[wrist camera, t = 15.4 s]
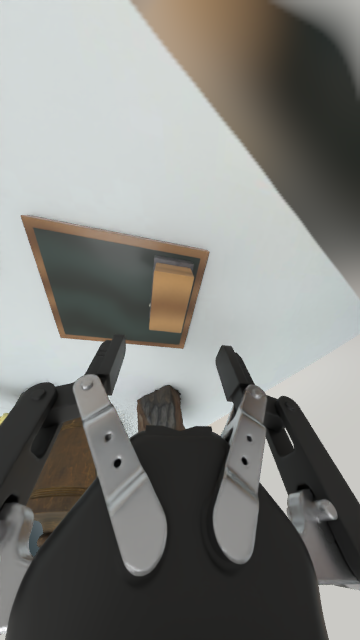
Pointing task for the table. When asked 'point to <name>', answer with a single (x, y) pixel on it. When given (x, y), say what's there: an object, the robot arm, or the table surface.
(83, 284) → the board
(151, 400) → the owl
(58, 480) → the wooden container
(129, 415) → the table surface
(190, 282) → the eraser
